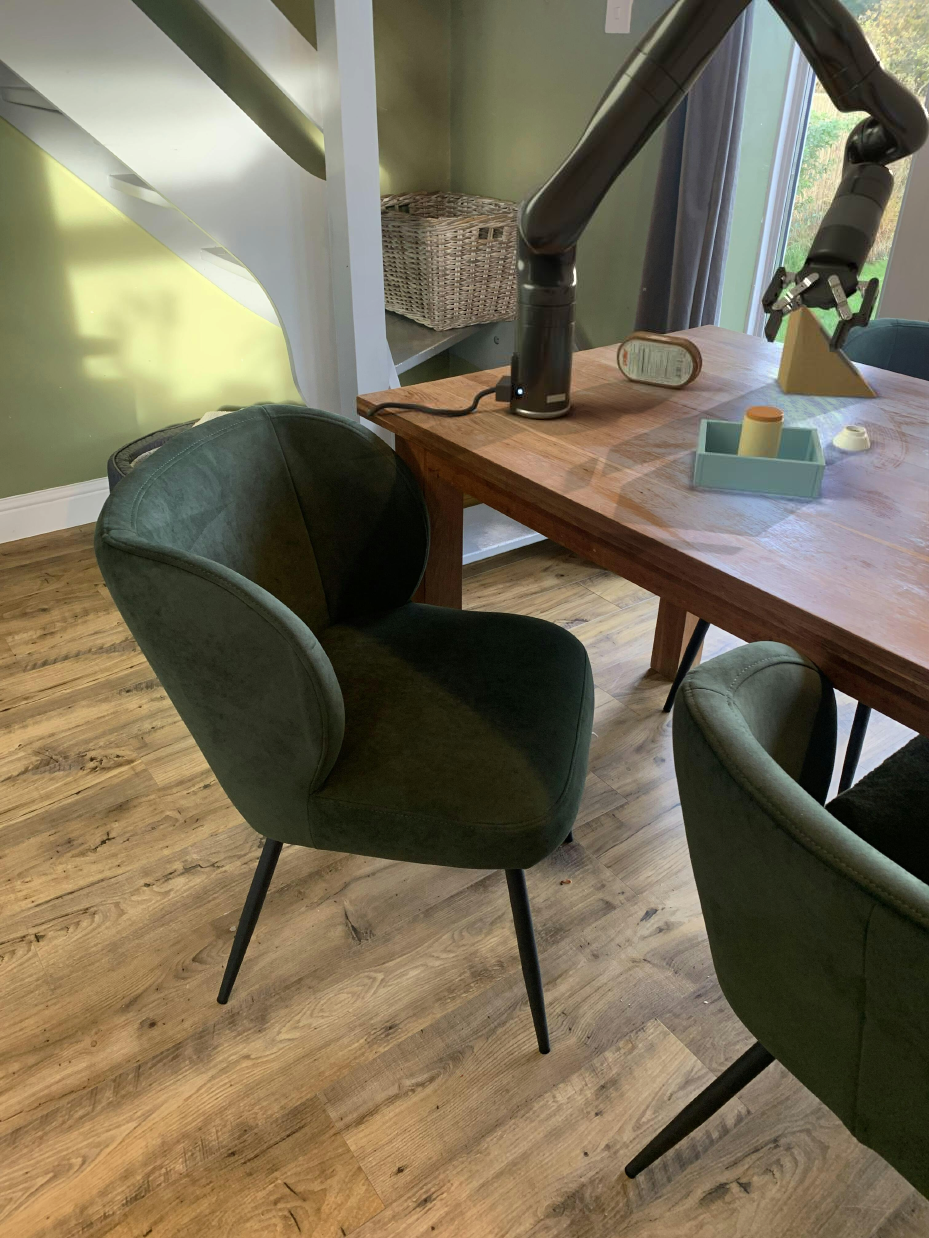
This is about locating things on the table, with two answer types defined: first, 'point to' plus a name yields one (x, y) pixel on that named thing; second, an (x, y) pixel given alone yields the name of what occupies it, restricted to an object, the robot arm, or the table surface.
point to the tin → (659, 359)
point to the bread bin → (759, 461)
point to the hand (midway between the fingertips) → (800, 344)
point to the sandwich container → (816, 361)
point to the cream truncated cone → (852, 438)
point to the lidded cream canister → (761, 432)
